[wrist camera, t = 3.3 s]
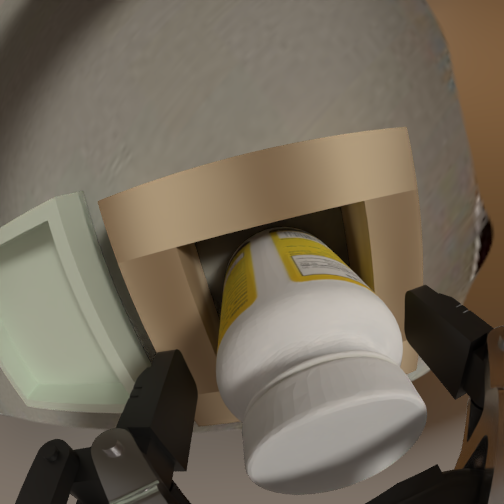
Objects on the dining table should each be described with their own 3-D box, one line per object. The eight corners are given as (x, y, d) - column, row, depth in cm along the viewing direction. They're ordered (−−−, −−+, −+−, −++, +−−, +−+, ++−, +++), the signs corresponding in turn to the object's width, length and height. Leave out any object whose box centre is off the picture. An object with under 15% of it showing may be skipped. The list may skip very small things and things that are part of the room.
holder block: (203, 390, 16) (198, 426, 13) (126, 193, 12) (97, 201, 9) (394, 341, 15) (416, 370, 12) (373, 133, 12) (406, 126, 9)
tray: (40, 387, 16) (27, 406, 13) (-26, 250, 12) (-48, 260, 10) (162, 384, 15) (153, 412, 13) (82, 190, 12) (54, 197, 10)
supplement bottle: (251, 341, 15) (263, 516, 5) (206, 252, 13) (144, 422, 4) (346, 303, 14) (443, 450, 5) (314, 206, 13) (464, 301, 3)
